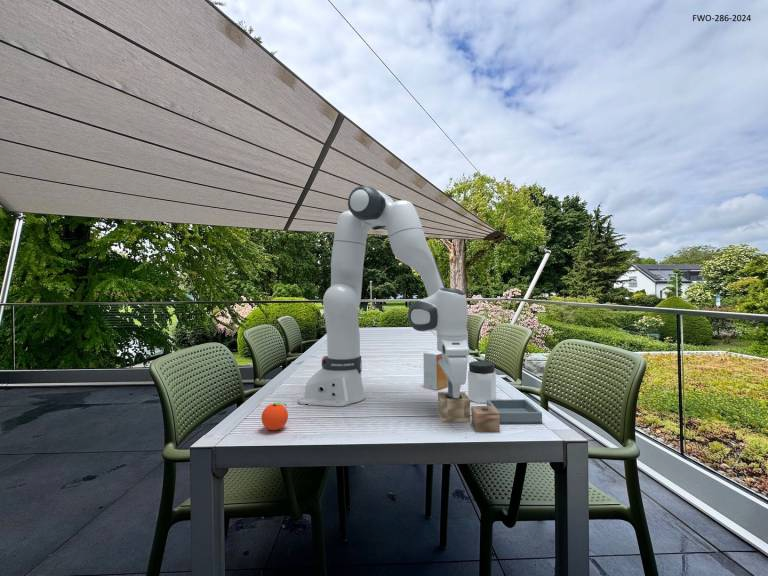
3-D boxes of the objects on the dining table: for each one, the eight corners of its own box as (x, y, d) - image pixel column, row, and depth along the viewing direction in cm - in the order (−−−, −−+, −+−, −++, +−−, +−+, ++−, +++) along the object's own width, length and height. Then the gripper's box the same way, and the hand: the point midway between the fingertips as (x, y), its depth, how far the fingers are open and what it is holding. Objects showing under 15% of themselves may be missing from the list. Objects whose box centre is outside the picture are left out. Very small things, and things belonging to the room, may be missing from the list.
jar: (501, 401, 122) (500, 364, 122) (481, 405, 118) (481, 367, 118) (482, 394, 130) (482, 359, 130) (463, 397, 127) (463, 362, 126)
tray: (497, 424, 102) (497, 413, 102) (486, 409, 114) (486, 399, 114) (542, 423, 102) (542, 412, 102) (526, 409, 114) (526, 399, 114)
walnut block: (476, 433, 97) (475, 413, 97) (471, 424, 103) (471, 405, 103) (499, 432, 97) (499, 413, 97) (493, 424, 103) (493, 405, 103)
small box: (437, 390, 136) (436, 354, 135) (423, 387, 140) (422, 352, 140) (450, 386, 141) (449, 351, 141) (436, 383, 146) (436, 349, 146)
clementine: (278, 421, 107) (277, 397, 107) (296, 426, 103) (296, 400, 103) (255, 431, 100) (255, 405, 100) (274, 436, 96) (274, 409, 96)
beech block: (441, 422, 105) (441, 400, 105) (438, 412, 113) (437, 392, 113) (470, 421, 104) (470, 400, 104) (464, 412, 112) (464, 392, 112)
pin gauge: (449, 415, 107) (448, 383, 107) (447, 411, 110) (447, 380, 110) (460, 415, 107) (460, 383, 107) (458, 411, 110) (458, 380, 110)
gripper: (437, 339, 119) (437, 382, 119) (446, 350, 98) (447, 403, 99) (457, 339, 119) (457, 382, 119) (470, 350, 98) (471, 403, 98)
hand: (453, 392), depth 109 cm, fingers open, 8 cm apart
